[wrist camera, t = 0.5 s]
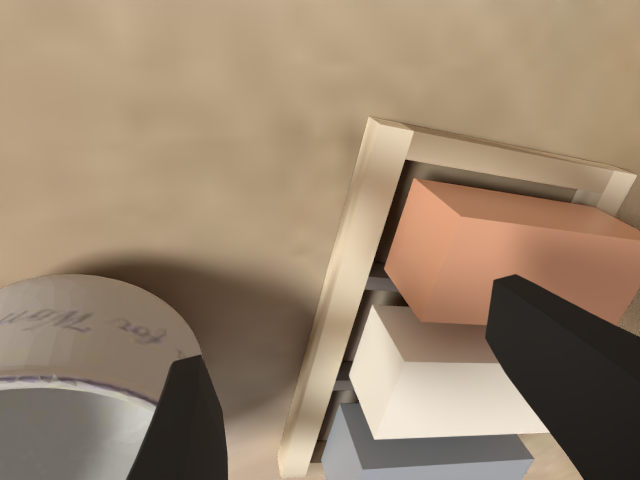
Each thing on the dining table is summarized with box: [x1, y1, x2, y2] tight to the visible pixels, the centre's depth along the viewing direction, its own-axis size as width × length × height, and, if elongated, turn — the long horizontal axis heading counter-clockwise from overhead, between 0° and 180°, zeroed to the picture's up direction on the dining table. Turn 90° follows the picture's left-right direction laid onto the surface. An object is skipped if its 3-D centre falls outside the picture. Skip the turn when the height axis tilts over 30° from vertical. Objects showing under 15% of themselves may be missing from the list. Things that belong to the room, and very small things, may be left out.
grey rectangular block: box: [321, 403, 534, 480], centre depth 25 cm, size 4×10×4 cm, turn 77°
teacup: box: [0, 274, 203, 480], centre depth 17 cm, size 14×11×8 cm
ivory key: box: [349, 305, 549, 440], centre depth 22 cm, size 4×10×4 cm, turn 77°
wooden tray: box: [277, 117, 637, 478], centre depth 25 cm, size 21×14×2 cm, turn 167°
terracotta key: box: [384, 178, 640, 326], centre depth 19 cm, size 4×10×4 cm, turn 76°
